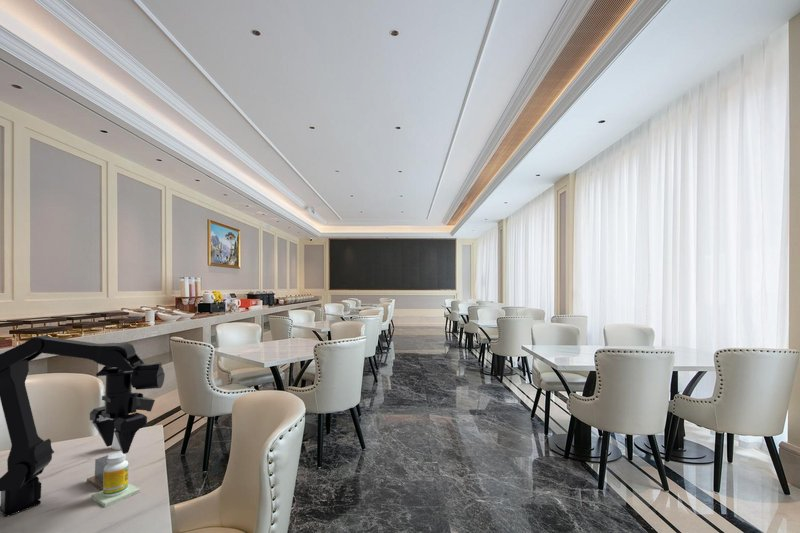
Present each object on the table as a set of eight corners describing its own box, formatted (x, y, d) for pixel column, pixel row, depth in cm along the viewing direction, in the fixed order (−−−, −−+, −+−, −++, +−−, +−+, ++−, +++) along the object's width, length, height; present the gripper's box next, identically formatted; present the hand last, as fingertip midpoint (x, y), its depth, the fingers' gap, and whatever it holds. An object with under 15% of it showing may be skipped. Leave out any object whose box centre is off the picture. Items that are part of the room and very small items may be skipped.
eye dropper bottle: (115, 452, 128) (116, 416, 128) (110, 447, 131) (111, 412, 132) (130, 448, 131) (131, 412, 132) (125, 443, 135) (126, 409, 135)
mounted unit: (102, 491, 103) (103, 469, 104) (86, 482, 108) (87, 460, 109) (127, 481, 108) (128, 460, 109) (111, 473, 114) (111, 452, 114)
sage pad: (105, 507, 96) (105, 503, 96) (91, 498, 100) (91, 495, 100) (139, 492, 103) (139, 489, 103) (125, 484, 107) (125, 481, 107)
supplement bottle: (102, 491, 102) (103, 454, 102) (127, 484, 105) (127, 449, 106) (103, 499, 98) (104, 461, 98) (128, 492, 101) (129, 455, 102)
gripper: (168, 388, 105) (167, 445, 104) (134, 380, 115) (133, 432, 114) (122, 398, 95) (120, 462, 95) (89, 389, 105) (88, 446, 104)
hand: (117, 449), depth 102 cm, fingers open, 9 cm apart
